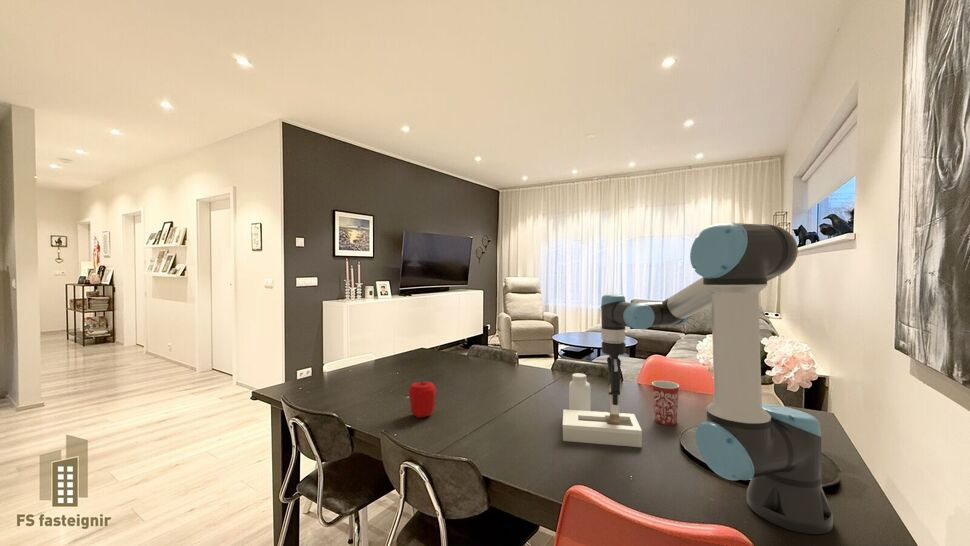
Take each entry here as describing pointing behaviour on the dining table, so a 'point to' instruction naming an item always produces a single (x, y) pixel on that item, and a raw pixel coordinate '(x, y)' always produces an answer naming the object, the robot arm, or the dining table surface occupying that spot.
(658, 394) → the mug
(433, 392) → the red cylinder
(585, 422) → the keyhole board
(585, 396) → the pill bottle
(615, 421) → the peg
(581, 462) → the dining table surface
